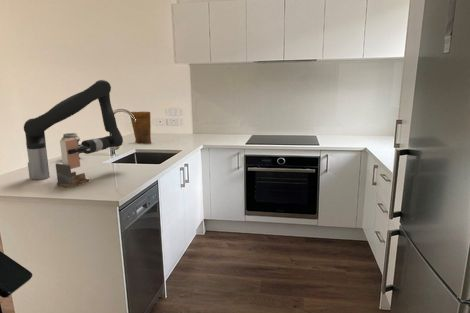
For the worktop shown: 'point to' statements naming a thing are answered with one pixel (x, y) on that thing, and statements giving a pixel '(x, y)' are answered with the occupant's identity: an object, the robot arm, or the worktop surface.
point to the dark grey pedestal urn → (71, 135)
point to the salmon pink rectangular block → (69, 158)
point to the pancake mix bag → (142, 127)
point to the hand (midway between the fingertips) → (65, 151)
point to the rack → (69, 176)
